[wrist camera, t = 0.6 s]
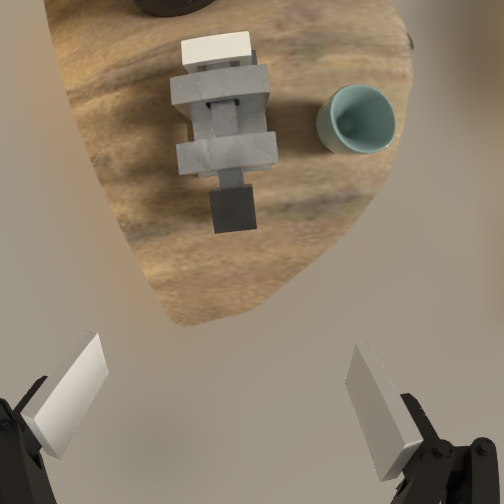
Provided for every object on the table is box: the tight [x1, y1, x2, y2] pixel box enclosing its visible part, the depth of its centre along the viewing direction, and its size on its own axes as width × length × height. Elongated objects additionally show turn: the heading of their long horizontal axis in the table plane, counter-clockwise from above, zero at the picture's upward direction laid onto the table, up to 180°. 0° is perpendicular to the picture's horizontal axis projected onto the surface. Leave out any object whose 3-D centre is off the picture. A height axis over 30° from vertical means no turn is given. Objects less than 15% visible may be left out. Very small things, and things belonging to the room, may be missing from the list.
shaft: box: [207, 62, 257, 234], centre depth 29 cm, size 21×4×7 cm, turn 6°
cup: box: [316, 84, 396, 156], centre depth 31 cm, size 8×8×10 cm
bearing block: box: [170, 64, 279, 177], centre depth 31 cm, size 11×9×11 cm
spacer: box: [181, 31, 252, 74], centre depth 28 cm, size 3×7×7 cm, turn 96°
